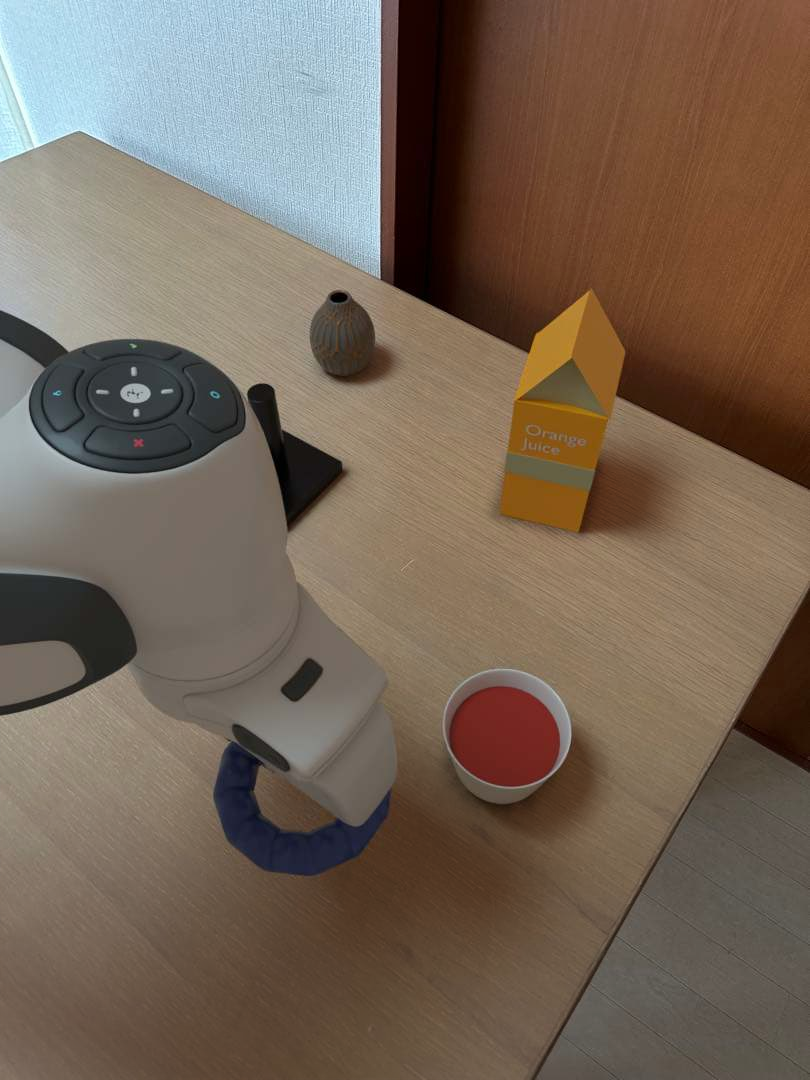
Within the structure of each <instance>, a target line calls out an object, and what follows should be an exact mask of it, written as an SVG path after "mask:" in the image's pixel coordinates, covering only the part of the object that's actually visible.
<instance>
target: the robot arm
mask: <svg viewBox="0 0 810 1080" xmlns="http://www.w3.org/2000/svg"><path fill="white" fill-rule="evenodd" d="M287 545H288V527H287V523H286V516H285V510H284V505H283V499H282V495H281V490H280V485H279V481H278V477H277V473H276V470H275V466H274V462H273V459H272V456H271V453H270V450H269V446H268V443H267V441H266V438H265V435H264V432H263V430H262V428H261V425H260V423H259V421H258V419H257V417H256V415H255V413H254V411H253V409H252V408H251V406H250V404H249V402H248V398H246V397H245V394H244V393H243V392H242V390H241V389H240V388H239V386H237V384H236V383H235V382H234V380H232V379H231V378H230V377H229V375H227V374H226V373H225V372H224V371H223V370H222V369H220V368H219V367H218V366H217V365H215V364H213V363H212V362H211V361H209V360H208V359H206V358H205V357H203V356H202V355H200V354H198V353H196V352H193V351H191V350H189V349H187V348H184V347H181V346H179V345H176V344H172V343H170V342H165V341H159V340H155V339H147V338H117V339H107V340H104V341H103V340H102V341H96V342H93V343H89V344H86V345H83V346H80V347H77V348H75V349H72V350H70V351H68V350H67V349H66V347H64V346H63V345H62V344H61V343H60V342H59V341H57V340H56V339H55V338H53V337H52V336H51V335H49V334H48V333H47V332H45V331H44V330H42V329H41V328H38V327H37V326H35V325H33V324H31V323H29V322H27V321H26V320H23V319H22V318H19V317H17V316H15V315H13V314H10V313H9V312H7V311H4V310H2V309H0V717H1V716H8V715H13V714H18V713H22V712H27V711H29V710H33V709H37V708H41V707H44V706H46V705H49V704H52V703H55V702H57V701H59V700H62V699H64V698H67V697H69V696H72V695H74V694H77V693H78V692H80V691H82V690H84V689H87V688H88V687H90V686H92V685H94V684H96V683H98V682H100V681H102V680H104V679H106V678H109V677H110V676H112V675H114V674H115V673H117V672H118V671H120V670H121V669H123V668H124V667H125V666H127V669H128V670H129V672H130V675H131V676H132V678H133V679H134V681H135V684H136V685H137V687H138V689H139V691H140V693H141V694H142V695H143V697H144V698H145V699H146V700H147V701H148V702H149V704H150V705H152V706H153V707H154V708H155V709H156V710H157V711H159V712H161V713H162V714H164V715H165V716H168V717H170V718H172V719H175V720H178V721H181V722H184V723H189V724H194V725H196V726H198V727H200V728H201V729H203V730H205V731H207V732H209V733H211V734H214V735H216V736H220V737H222V739H224V740H225V741H227V742H231V741H234V742H236V743H237V744H239V745H240V746H241V747H243V748H244V749H245V750H247V751H248V752H250V753H251V754H252V755H253V756H254V757H255V761H256V762H257V763H259V764H260V765H261V766H260V767H263V768H264V769H265V770H267V771H268V772H269V773H270V774H272V775H275V774H278V775H279V776H281V777H282V778H283V779H285V780H286V781H287V782H288V783H290V784H291V785H293V786H294V787H296V788H297V789H298V790H300V791H301V792H302V793H303V794H305V795H306V796H307V797H309V798H311V799H312V800H313V801H314V802H316V803H317V804H318V805H320V806H322V807H323V808H324V809H325V810H326V811H328V812H329V813H331V814H332V815H333V816H335V818H339V819H340V820H341V821H343V822H344V823H346V824H348V825H351V826H355V827H358V826H361V825H362V824H363V823H364V822H365V821H366V820H367V819H368V818H369V817H370V816H371V814H372V813H373V812H374V811H375V809H376V808H377V807H378V805H379V804H380V803H381V801H382V800H383V798H384V797H385V795H386V794H387V793H388V791H389V790H390V788H391V789H392V787H393V785H394V783H395V780H396V778H397V774H398V753H397V742H396V736H395V735H396V734H395V730H394V726H393V724H392V721H391V718H390V716H389V714H388V712H387V711H386V709H385V708H384V706H383V705H382V703H381V702H380V700H381V698H382V697H383V695H384V694H385V691H386V689H387V688H388V685H389V684H388V683H389V681H388V679H389V678H388V675H387V673H386V671H385V670H384V668H383V667H382V665H380V663H379V662H378V661H376V660H375V659H374V658H373V657H372V656H371V655H370V654H368V653H367V651H365V650H364V649H363V648H362V647H361V646H360V645H358V644H357V643H356V642H355V641H354V640H353V639H352V638H351V637H350V636H348V634H346V633H345V631H343V630H342V629H341V628H340V627H339V626H338V625H337V624H336V623H335V622H333V620H332V619H331V618H330V617H329V616H328V615H327V614H326V613H325V612H324V610H323V609H322V608H321V606H320V605H319V604H318V603H317V601H316V600H315V598H314V597H313V596H312V595H311V593H310V592H309V591H308V590H307V589H306V587H304V586H303V585H302V584H301V583H300V582H299V581H297V577H296V572H295V569H294V566H293V563H292V561H291V559H290V557H289V555H288V553H287ZM391 786H392V787H391Z"/></svg>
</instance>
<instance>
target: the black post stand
mask: <svg viewBox="0 0 810 1080" xmlns="http://www.w3.org/2000/svg"><path fill="white" fill-rule="evenodd" d="M246 397H247V398H246V399H247V401H248V402H249V404H250V406H251V408H252V409H253V411H254V413H255V415H256V417H257V419H258V421H259V423H260V425H261V428H262V430H263V432H264V435H265V438H266V441H267V443H268V446H269V450H270V453H271V456H272V459H273V462H274V466H275V470H276V473H277V477H278V481H279V485H280V490H281V495H282V499H283V505H284V510H285V516H286V523H287V528H288V527H289V526H291V525H292V523H293V522H295V520H297V518H298V517H300V515H302V514H303V512H304V511H305V510H307V509H308V507H309V506H310V505H312V503H314V501H315V500H317V498H318V497H319V496H320V495H322V493H323V492H324V491H325V490H326V489H327V488H329V486H331V484H332V483H333V482H334V481H335V480H336V479H337V478H338V477H339V476H340V475H341V474H342V473H344V469H343V468H344V467H343V461H342V460H340V459H338V458H337V457H334V456H333V455H331V454H329V453H327V452H325V451H323V450H322V449H320V448H317V447H316V446H314V445H313V444H311V443H308V442H307V441H304V440H303V439H300V438H299V437H297V436H296V435H294V434H291V433H289V432H287V431H286V430H284V429H283V428H282V424H281V418H280V413H279V407H278V406H279V405H278V401H277V400H278V399H277V395H276V389H275V388H274V387H273V386H272V385H271V384H269V383H265V382H264V383H263V382H261V383H256V384H253V385H252V386H250V387H249V388H248V389H247V392H246Z"/></svg>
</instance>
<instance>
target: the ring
mask: <svg viewBox="0 0 810 1080" xmlns="http://www.w3.org/2000/svg"><path fill="white" fill-rule="evenodd" d="M260 767H262V766H261V765H260V764H259V763H257V762H256V761H255V757H254V756H253V755H252V754H251V753H250V752H248V751H247V750H245V749H244V748H243V747H241V746H240V745H239V744H237V743H236V742H234V741H229V744H227V746H226V747H225V748H224V750H223V752H222V754H221V759H220V763H219V767H218V771H217V774H216V779H215V783H214V788H213V793H212V798H213V803H214V807H215V809H216V812H217V815H218V818H219V821H220V825H221V827H222V831H223V834H224V837H225V839H226V841H227V842H228V844H229V845H230V846H231V847H233V848H234V849H235V850H237V851H238V852H239V853H240V854H241V855H243V856H244V857H245V858H247V859H248V860H249V861H250V862H252V863H253V864H254V865H255V866H256V867H258V869H261V870H262V871H264V872H268V873H274V874H281V875H282V874H283V875H293V876H303V877H315V876H318V875H320V874H323V873H325V872H327V871H329V870H332V869H334V868H336V867H338V866H340V865H343V864H344V863H347V862H349V861H351V860H353V859H356V858H357V857H359V856H360V855H361V854H362V852H364V850H365V848H366V847H368V845H369V843H370V842H371V840H372V839H373V838H374V837H375V835H376V834H377V832H378V831H379V830H380V828H381V827H382V825H383V824H384V823H385V821H386V820H387V818H388V815H389V812H390V804H391V797H392V787H393V785H392V786H391V788H390V790H389V791H388V793H387V794H386V795H385V797H384V798H383V800H382V801H381V803H380V804H379V805H378V807H377V808H376V809H375V811H374V812H373V813H372V814H371V816H370V817H369V818H368V819H367V820H366V821H365V822H364V823H363V824H362V825H361V826H358V827H355V826H351V825H348V824H346V823H344V822H343V821H341V820H340V819H339V818H337V817H335V819H334V820H333V821H330V822H328V823H327V824H324V825H322V826H319V827H317V828H315V829H313V830H311V831H301V830H291V829H282V828H281V827H279V826H278V825H277V824H276V823H274V822H273V821H271V820H270V819H269V818H267V816H265V815H263V814H262V811H261V808H260V805H259V801H258V799H257V797H256V793H255V788H256V785H257V784H256V783H257V779H258V774H259V769H260Z"/></svg>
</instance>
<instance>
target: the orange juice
mask: <svg viewBox="0 0 810 1080" xmlns="http://www.w3.org/2000/svg"><path fill="white" fill-rule="evenodd" d="M625 356H626V349H625V348H624V346H623V344H622V342H621V339H620V338H619V336H618V335H617V333H616V330H615V329H614V327H613V325H612V324H611V321H610V320H609V318H608V316H607V314H606V313H605V311H604V309H603V307H602V305H601V303H600V301H599V299H598V297H597V296H596V294H595V292H594V290H593V288H592V287H590V288H589V290H588V291H587V292H585V294H583V295H582V296H581V297H580V298H579V299H578V300H576V301H575V302H573V303H572V305H570V306H569V307H568V308H566V309H565V310H564V311H563V312H562V313H560V314H559V315H558V316H557V317H556V318H555V319H553V320H552V321H551V322H550V323H548V324H547V325H546V326H545V327H544V328H543V329H541V330H540V331H539V332H536V333H535V335H534V338H533V342H532V344H531V348H530V350H529V354H528V356H527V360H526V362H525V365H524V369H523V371H522V375H521V378H520V381H519V383H518V387H517V390H516V393H515V396H514V399H513V409H512V417H511V423H510V431H509V439H508V445H507V446H508V447H507V451H506V457H505V464H504V465H505V466H504V475H503V483H502V484H503V485H502V492H501V499H500V505H499V506H500V507H499V515H501V516H505V517H509V518H513V519H514V518H515V519H519V520H522V521H523V520H524V521H526V522H531V523H535V524H540V525H544V526H549V527H554V528H557V529H562V530H565V531H570V532H575V533H579V532H580V528H581V525H582V521H583V518H584V514H585V510H586V506H587V502H588V498H589V494H590V491H591V488H592V486H593V485H592V484H593V480H594V477H595V473H596V469H597V465H598V460H599V456H600V452H601V448H602V446H603V445H602V444H603V441H604V437H605V438H606V436H607V427H608V426H610V425H609V424H610V423H609V422H611V418H612V413H613V409H614V405H615V400H616V397H617V391H618V387H619V383H620V378H621V374H622V370H623V366H624V365H623V364H624V360H625ZM605 434H606V435H605Z"/></svg>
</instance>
